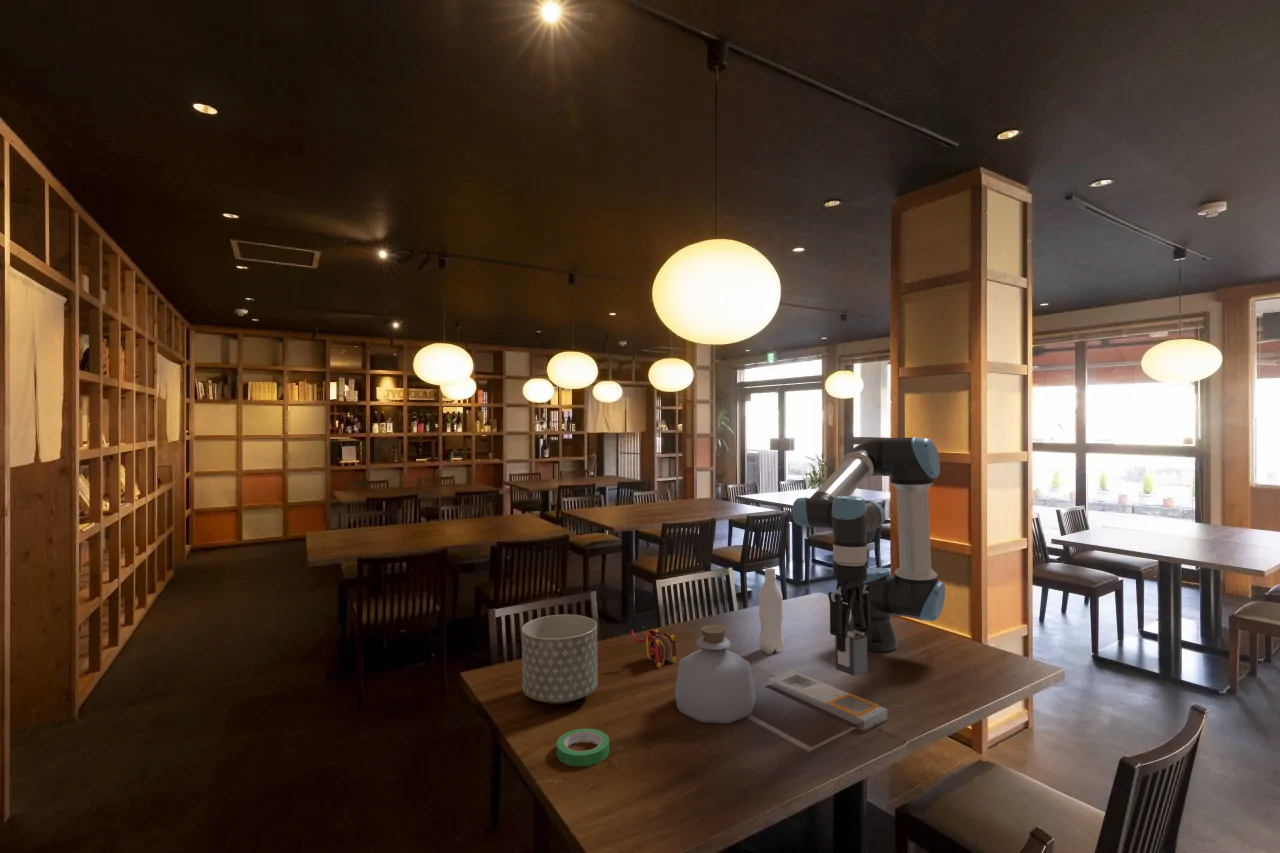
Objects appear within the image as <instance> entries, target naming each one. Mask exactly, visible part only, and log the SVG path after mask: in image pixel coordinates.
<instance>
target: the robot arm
mask: <svg viewBox="0 0 1280 853" xmlns="http://www.w3.org/2000/svg"><path fill="white" fill-rule="evenodd" d="M940 462H941V461H940V455H939V452H938V449H937V446H936V444H935V443H934V441H933V440H931V439H929V438H927V437H911V436H910V437H876V438H872V439H869V440H866V441H864V442H862V443H859V444H857V445H856V446H855V447H853V448H852V449H851V450H850V451H847V453H845V455H844V456H843V458H842V459H841V464H840V465H839V466H838V467H837V469H835V471H833V473H832V474H831V475H830V476H829V477H828V479H826V480H825V482H823V484H822V485H820V487H819V488H818V489H817V490H816V491H815V492H814V493H813V495H811V497H806V496H805V497H797V498H796V499H795V500H794V502H793V505H792V510H791V514H792V519H793V521H794V523H795V524H796V525H797V526H802V527H808V528H818V529H828V530H829V529H832V548H833V549H832V556H833V557H832V559H833V561H834V562H833V563H832V570H833V571H832V572H833V573H832V576H833V578H834V579H835V580H836V582H837V583H836V587H835V591H832V592H831V591H829V592H828V594H827V596H828V600H829V633H830V634H831V635H833V636H836V637H837V650H838V663H839V664H841V665H844V666H847V667H849V666H850V641H849V640H850V638H849V637H847V632H848V631H850V632H854V633H857V634H860V635H863V636H867V652H876V653H877V652H879V653H882V652H883V653H884V652H891V651H893V650H896V649H897V648H898V637H897V635H896V631H895V629H894V626H893V624H892V623H893V622H892V619H891V618H892V617H891V615H894V616H899V617H904V618H910V619H915V620H918V621H927V622H928V621H929V622H934V621H936V620H938V619H939V617H940V616H941V613H942V611H943V608H944V605H945V604H944V603H945V599H946V598H945V597H946V586H945V583H944V582H942V581H941V580H939V581H938V579H939V578H938V573H937V572H936V571H934V569H933V568H932V556H931V555H932V554H931V530H930V529H931V527H930V509H929V508H930V505H929V488H930V487H932V486H933V484H934V479H936V478H938V477H939V475H940V472H941V469H940V468H941V463H940ZM871 477H890V484H891V485H892V486H893V487H894V488H895V490H896V508H897V509H896V511H897V512H896V513H897V532H898V536H897V538H898V556H899V558H898V559H899V567H898V568H896V569H895V571H894V574H893V575H891V571H890V570H889V569H888V568H885V567H868V566H867V564H866V563H867V562H868V551H867V550H868V549H867V545H868V544H867V533H869V532H871V533H872V532H875V531H876V530H878V528H880V527H881V526H883V524H884V522H885V520H886V512H885V510H884V507H883V506H882V505H881V504H880V503H878V502H877V501H874V500H865V498H863V497H862V496H854V495H852V494H853V493H854V491H855V490H856V489H857V488H858V487H859V486H860V485H861V483H862V482H863V481H867V480H869V479H870V478H871Z"/></svg>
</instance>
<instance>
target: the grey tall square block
mask: <svg viewBox="0 0 1280 853" xmlns="http://www.w3.org/2000/svg"><path fill="white" fill-rule="evenodd" d="M834 636H835V635H834ZM847 637H849V638H850V640H849V641H850V666H849V667H847V666H844V665H841V664H839V663H838V650H837V637H836V636H835V639H834V640H835V641H834V642H835V645H834V646H835V670H836V671H837V670H838V671H840V672H841V673H842V672H843V673H845V674H848V675H851V676H853V677H855V676H858V675H860V674H864V673H865V672H868V651H867V636H863V635H860V634H857V633H854V632H850V631H848V632H847Z"/></svg>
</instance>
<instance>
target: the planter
mask: <svg viewBox="0 0 1280 853" xmlns="http://www.w3.org/2000/svg"><path fill="white" fill-rule="evenodd" d="M597 626H598V624H597V621H595V620H594V619H593V618H591V617H588V616H583V615H580V614H553V615H546V616H542V617H538V618H535V619H532V620H531V619H530V621H527V622H526V623H525V624H523V626H522V628H521V650H522V651H521V653H522V654H521V657H522V658H521V662H522V663H521V665H522V667H521V668H522V669H521V670H522V692H523V694H524V695H525V696H527V697H528V698H530V699H532V700H534V701H538V702H543V703H546V704H548V705H565V704H569V703H572V702H575V701H578V700H580V699H582V698H585V697H586V696H589V695H590V694H592V693H593V692H594V691H595V690H596V689H597V687H598V684H599V682H598V680H599V677H598V676H599V675H598V672H599V671H598V627H597Z"/></svg>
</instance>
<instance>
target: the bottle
mask: <svg viewBox="0 0 1280 853" xmlns="http://www.w3.org/2000/svg"><path fill="white" fill-rule="evenodd" d="M700 631H701V634H702V636H701V637H700V638H698V639H697V640H696V645H697V646H698V647H699V648H701V649H699V650H695V651H693V652H692V653H690V654H688V655H685V656H684V657H682V658H680V659H679V660H678V661H679V662H678V667H677V676H676V681H675V682H676V683H675V689H674V698H675V702H676V703H675V704H676V707H677V709H678V711H679V712H680V713H681V714H682V715H685V716H687V717H689V718H690V719H694V720H695V721H697V722H699V723H708V724H723V725H725V724H726V725H729V724H732V723H734V722H737V721H739V720H740V721H741V720H742V719H745V718H749V716H750V715H751V714H752V713H753V710H754V707H755V703H756V700H757V698H756V697H757V696H756V692H755V686H754V680H753V673H752V667H751V662H749V661H748V660H746V659H745V658H743V657H742V656H740V655H738V654H737V653H735V652H733V651H729V650H728V649H727V648H730V647H731V645H732V642H731V641H730V639H729V638H727V637H725V636H726V631H727V627H725V626H723V625H720V624H705V625H703V626H701V628H700Z"/></svg>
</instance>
